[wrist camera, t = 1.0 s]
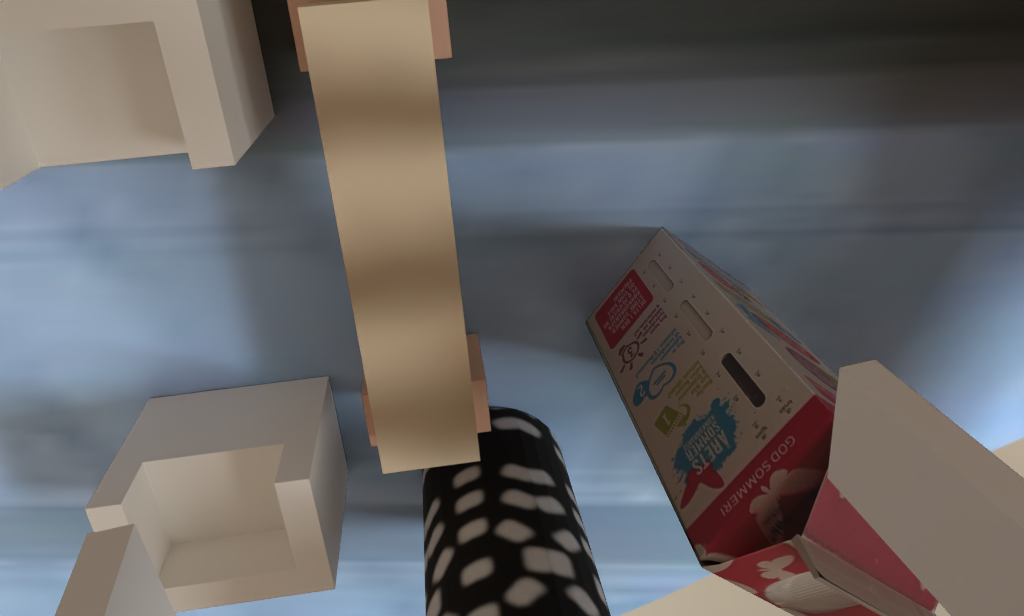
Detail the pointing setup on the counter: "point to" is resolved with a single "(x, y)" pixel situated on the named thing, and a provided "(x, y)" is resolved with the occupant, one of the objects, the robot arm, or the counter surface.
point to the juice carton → (744, 438)
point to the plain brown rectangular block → (474, 353)
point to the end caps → (203, 415)
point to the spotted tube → (508, 530)
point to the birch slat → (394, 223)
